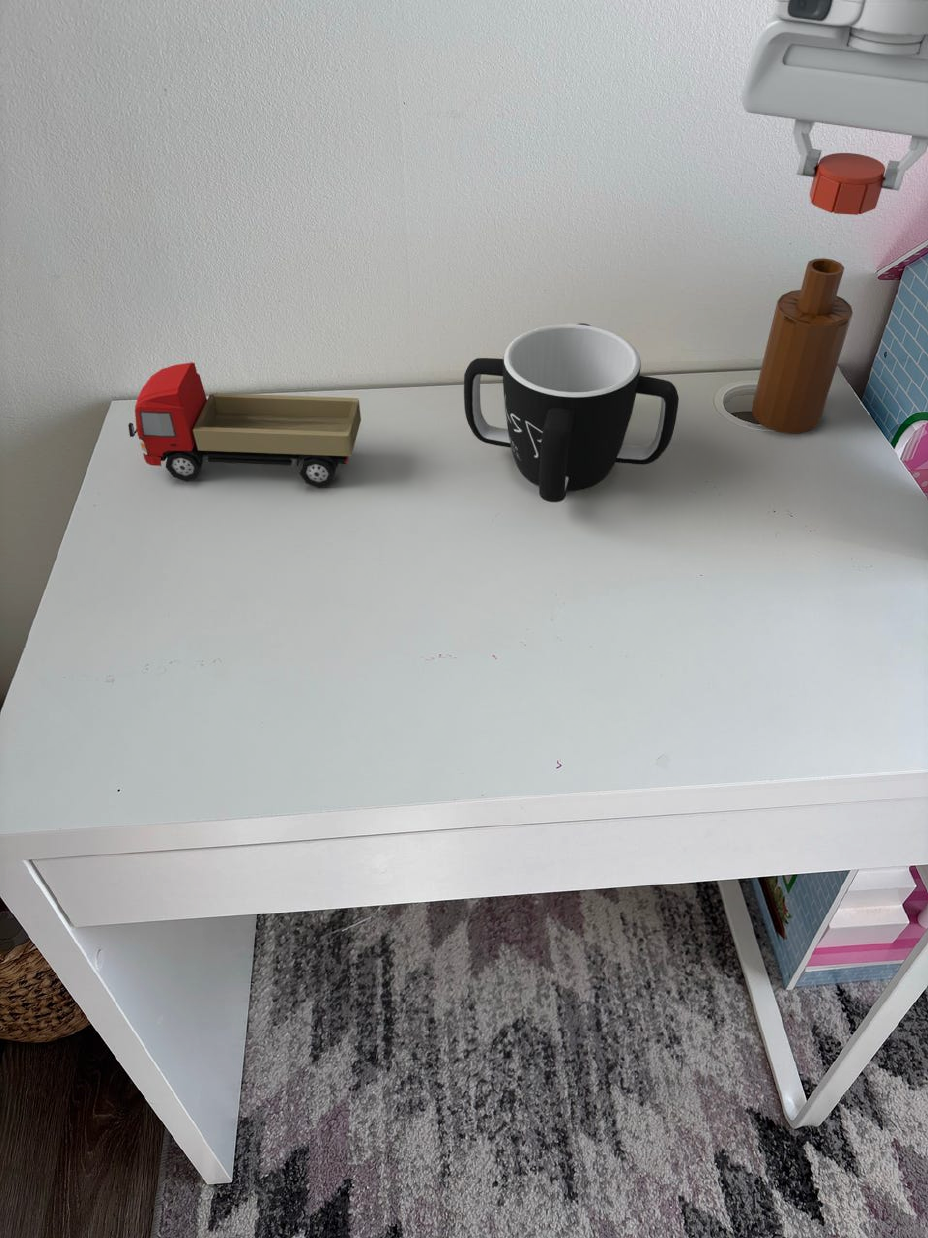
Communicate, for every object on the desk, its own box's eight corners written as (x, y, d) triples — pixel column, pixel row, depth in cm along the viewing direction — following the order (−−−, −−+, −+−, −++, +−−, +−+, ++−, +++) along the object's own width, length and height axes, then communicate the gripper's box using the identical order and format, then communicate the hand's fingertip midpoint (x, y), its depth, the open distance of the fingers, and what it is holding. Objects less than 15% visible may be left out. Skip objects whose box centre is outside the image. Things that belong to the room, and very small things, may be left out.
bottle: (833, 417, 99) (880, 269, 87) (788, 441, 96) (831, 291, 85) (782, 388, 103) (820, 242, 91) (738, 410, 100) (771, 262, 88)
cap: (887, 203, 83) (899, 167, 81) (847, 220, 81) (857, 183, 79) (837, 182, 86) (846, 147, 84) (797, 198, 84) (805, 162, 82)
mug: (453, 442, 97) (451, 334, 88) (592, 402, 101) (602, 296, 93) (529, 540, 86) (535, 428, 78) (679, 490, 91) (700, 380, 82)
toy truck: (163, 442, 97) (138, 354, 90) (364, 450, 96) (355, 361, 89) (142, 484, 93) (114, 395, 85) (354, 493, 91) (343, 403, 84)
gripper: (1051, -5, 71) (979, 185, 81) (773, -32, 77) (738, 148, 87) (1048, 19, 67) (974, 215, 77) (756, -11, 73) (721, 175, 83)
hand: (847, 180), depth 82 cm, fingers closed on cap, 5 cm apart
